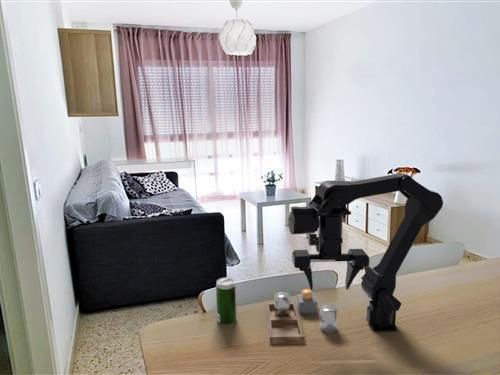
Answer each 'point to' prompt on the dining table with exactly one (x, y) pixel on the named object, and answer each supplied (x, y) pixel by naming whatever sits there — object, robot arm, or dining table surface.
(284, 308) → the seated billet
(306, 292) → the button
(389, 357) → the dining table surface
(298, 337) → the pallet
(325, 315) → the billet
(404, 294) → the dining table surface
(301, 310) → the grey square block
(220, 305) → the green soda can
